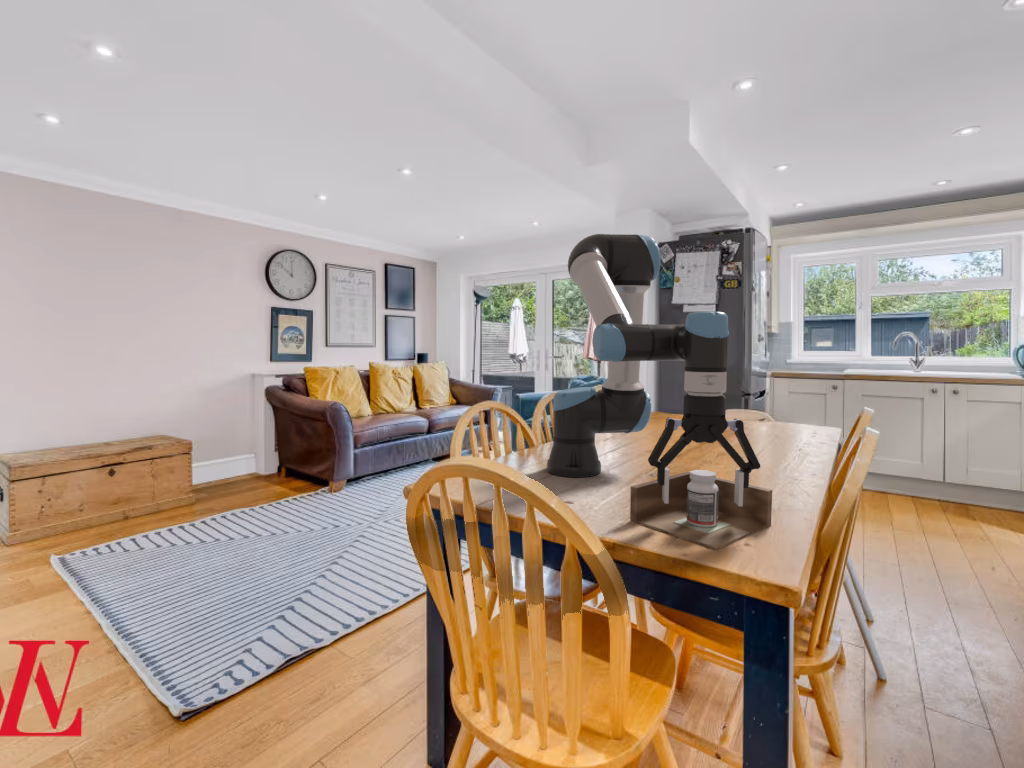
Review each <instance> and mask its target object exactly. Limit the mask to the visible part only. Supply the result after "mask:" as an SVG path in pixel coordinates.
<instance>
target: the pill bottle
mask: <svg viewBox="0 0 1024 768" xmlns="http://www.w3.org/2000/svg"><path fill="white" fill-rule="evenodd" d="M689 472H690V479H691V482H690V483H689V484H688V485H687V521H688V523H690V524H692V525H694V526H698V527H714V526H716V525H717V523H718V486H717V485H716V484H715V483H714V481H715V480H716V478H717V473H715V471H714V472H713V471H711V470H706V469H695V470H693V469H692V470H690V471H689Z"/></svg>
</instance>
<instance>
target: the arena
mask: <svg viewBox="0 0 1024 768" xmlns="http://www.w3.org/2000/svg"><path fill="white" fill-rule="evenodd" d="M690 482H691V479H690V471H685V472H681V473H678V474H673V475H669V504H667V503H664V502H663V500H662V487H663V485H659V484H658V482H657V479H653V480H651V481H646V482H643V483H639V484H635V485H631V486H630V505H629V506H630V509H629V510H630V511H629V512H630V514H629V518H630V519H629V521H630V522H633V523H636V524H639V525H641V526H645V527H648V528H650V529H653V530H656V531H659V532H662V533H666V534H667V535H671V536H674V537H677V538H680V539H683V540H685V541H689V542H692V543H695V544H696V545H697V544H698V545H701V546H703V547H706V548H709V549H712V550H719V549H721V548H724V547H726V546H727V545H731V544H734V543H735V542H737V541H739V540H741V539H744V538H746V537H749V536H750V535H752V534H755V533H757V532H759V531H761V530H763V529H764V530H765V529H766V528H768V527H771V526H772V509H773V489H770V488H765V487H760V486H756V485H750V484H749V486H748V488H743V506H738V505H737V504H736V503H735V502H734V493H735V481H732V480H728V479H723V478H720V477H716V480H715V481H714V483H715V484H716V485H717V486H718V523H717V525H716V526H714V527H698V526H694V525H692V524H690V523H688V521H687V485H688V484H689V483H690Z"/></svg>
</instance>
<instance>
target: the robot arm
mask: <svg viewBox="0 0 1024 768" xmlns="http://www.w3.org/2000/svg"><path fill="white" fill-rule="evenodd" d="M661 262H662V261H661V252H660V248H659V246H658V243H657V242H656V240H655V239H654V238H653V237H652V236H650V235H649V236H648V235H644V234H643V235H642V234H635V233H634V234H614V233H613V234H606V233H595V234H591V235H589V236H587V237H584V238H583V239H581V240H580V241H579V242H577V244H575V246H574V247H573V248H572V250H571V252H570V254H569V256H568V261H567V270H568V271H567V272H568V275H569V277H570V279H571V281H572V282H573V283H574V284H575V285H576V286H578V287H579V290H580V293H581V294H582V296H583V299H584V302H585V304H586V306H587V308H588V310H589V311H588V312H590V315H591V317H592V321H593V322H594V325H595V328H594V330H593V334H592V344H591V345H592V348H593V349H592V350H593V351H592V352H593V354H594V356H595V358H596V359H597V360H599V361H603V362H606V361H607V362H608V365H607V367H608V369H607V379H606V380H605V381H604V382H603V383H602V384H601V391H597V390H596V388H595V387H593V386H583V387H581V386H579V387H572V388H566V389H562V390H558V391H557V392H556V393H555V394H554V396H553V400H552V401H553V402H552V418H553V419H552V422H553V423H552V429H553V430H552V434H553V435H552V437H553V438H552V446H551V450H550V454H549V458H548V459H547V461H546V470H547V472H548V473H549V474H552V475H555V476H559V477H568V478H586V477H593V476H596V475H600V474H601V472H602V463H601V460H599V453H598V451H597V447H596V434H621V433H622V434H623V433H624V434H630V433H638V432H641V431H643V430H644V429H645V428H646V426H647V425H648V423H649V422H650V421H649V420H650V417H651V415H652V414H651V412H652V403H651V396H650V394H649V393H648V392H647V391H645V386H644V384H642V383H641V382H640V372H641V371H640V369H641V362H645V361H646V362H657V361H658V362H663V361H664V362H667V361H669V362H672V361H673V362H676V361H677V362H681V361H682V362H684V376H683V377H684V381H683V382H684V385H683V391H684V392H685V393H686V394H684V395H683V411H682V412H683V414H682V418H681V419H675V418H673V417H667V418H666V419H665V424H664V430H663V431H662V433H661V434H660V437H659V439H658V440H657V441H656V444H655V446H654V447H653V450H651V453H650V455H649V456H648V458H647V462H648V464H649V465H650V466H651V467H655V468H656V469H657V472H656V475H657V476H656V477H657V479H656V480H657V482H658V484H659V485H663V487H662V500H663V502H664V503H667V504H669V476H670V469H669V468H668V466H669V465H670V464H671V463H672V462H673V461H674V459H675V458H676V457H677V456H678V455H679V454H680V453H681V452H682V451H683V449H684V448H685V447H687V446H688V445H690V443H691V442H692V441H693V442H694V443H696V444H699V443H700V444H701V443H708V444H714V443H715V442H718V443H719V445H720V446H721V447H722V448H723V450H724V451H725V452H726V453H727V454H728V456H730V458H731V459H732V460H733V461H734V462H735V463H736V466H738V467H739V468H735V472H734V482H735V493H734V502H735V503H736V504H737V505H738V506H743V488H748V486H749V485H750V483H749V482H750V474H751V472H752V471H753V470H759V469H761V464H760V462H759V461H760V460H759V459H758V457H757V456H756V453H755V452H754V448H753V447H752V445H751V443H750V441H749V439H748V437H747V434H746V432H745V426H744V425H745V424H744V421H743V420H741V419H739V418H734V419H731V420H729V419H728V420H727V419H726V413H727V412H726V410H727V397H726V396H725V395H724V394H725V393H727V374H728V373H727V369H728V357H729V356H728V353H729V335H730V330H729V317H728V315H727V313H725V312H724V311H723V312H722V311H696V312H695V311H694V312H689V313H688V314H687V315H686V319H685V324H683V323H681V324H679V323H678V324H675V323H674V324H661V323H660V324H648V323H647V324H646V323H645V324H643V318H644V317H643V315H644V303H645V302H644V300H645V299H644V298H645V293H646V292H647V291H648V289H650V288H651V282H652V281H654V280H656V279H657V278H658V276H659V274H660V273H659V272H660V271H661ZM679 427H681V428H682V429H683V431H684V432H683V433H682V434H681V435H680V436H679V438H678V440H676V441H675V443H673V444H672V446H671V447H670V448H668V450H667V451H666V452H665V453H664V454H663V452H664V451H665V449H666V448H667V444H668V442H669V441H670V439H671V437H672V435H673V433H674V431H677V429H678V428H679ZM728 428H729V430H730V431H732V432H734V435H735V437H736V440H737V441H738V443H739V445H740V447H741V449H742V451H743V453H744V456H745V457H746V459H747V462H746V461H745V460H744V459H743V457H742V456H741V455H740V453H738V452H737V451H736V449H735V448H734V447H733V446H732V445H731V443H730V442H729V441H728V439H727V438H726V437H725V436H724V435H723V433H725V432H726V430H727V429H728ZM662 454H663V456H662ZM661 456H662V457H661ZM660 457H661V458H660Z"/></svg>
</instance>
